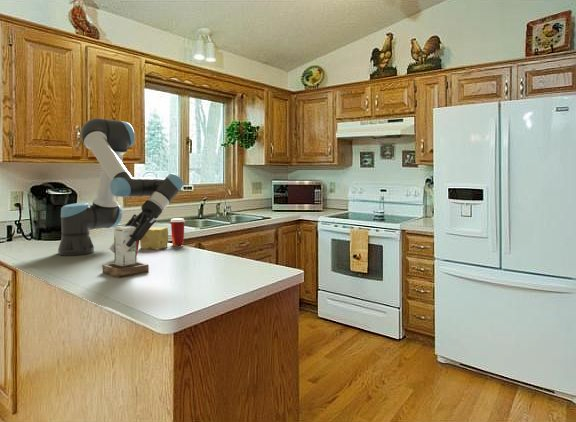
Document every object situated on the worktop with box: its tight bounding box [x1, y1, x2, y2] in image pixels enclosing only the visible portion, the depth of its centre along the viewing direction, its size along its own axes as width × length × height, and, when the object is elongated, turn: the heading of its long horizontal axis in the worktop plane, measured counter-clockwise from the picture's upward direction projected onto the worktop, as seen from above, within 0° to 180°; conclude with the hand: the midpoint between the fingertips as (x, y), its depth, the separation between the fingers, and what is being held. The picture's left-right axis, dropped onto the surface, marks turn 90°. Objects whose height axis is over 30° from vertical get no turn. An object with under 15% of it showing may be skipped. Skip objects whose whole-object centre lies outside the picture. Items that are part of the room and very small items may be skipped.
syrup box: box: [113, 225, 138, 266], centre depth 150 cm, size 6×6×14 cm
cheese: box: [139, 226, 169, 250], centre depth 205 cm, size 10×11×10 cm
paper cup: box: [170, 217, 186, 247], centre depth 214 cm, size 8×8×14 cm
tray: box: [101, 261, 150, 279], centre depth 151 cm, size 12×12×3 cm
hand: (116, 251), depth 148 cm, fingers closed on syrup box, 6 cm apart
